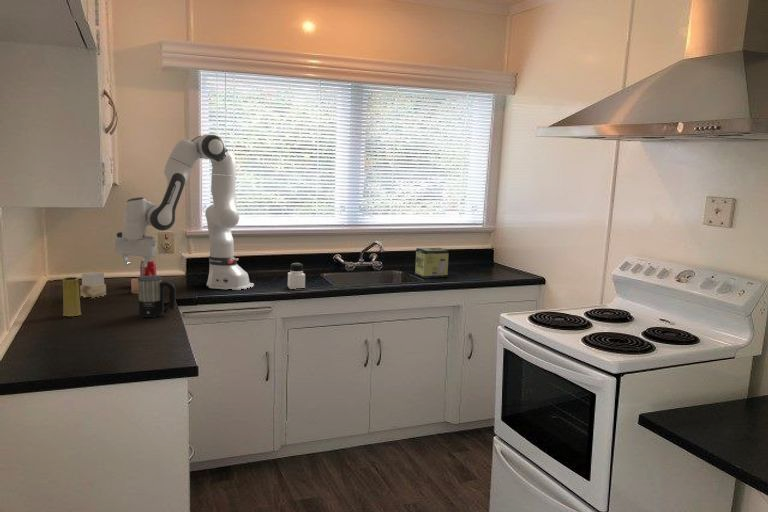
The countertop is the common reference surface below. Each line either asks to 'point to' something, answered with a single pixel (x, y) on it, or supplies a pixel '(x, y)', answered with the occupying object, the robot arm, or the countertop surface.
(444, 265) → the protein box
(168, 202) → the robot arm
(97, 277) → the tower top
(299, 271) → the medicine bottle
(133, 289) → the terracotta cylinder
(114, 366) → the countertop surface
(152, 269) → the soda can
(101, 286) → the tower base
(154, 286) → the milk frother
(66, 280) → the vase
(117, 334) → the countertop surface
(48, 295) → the countertop surface
